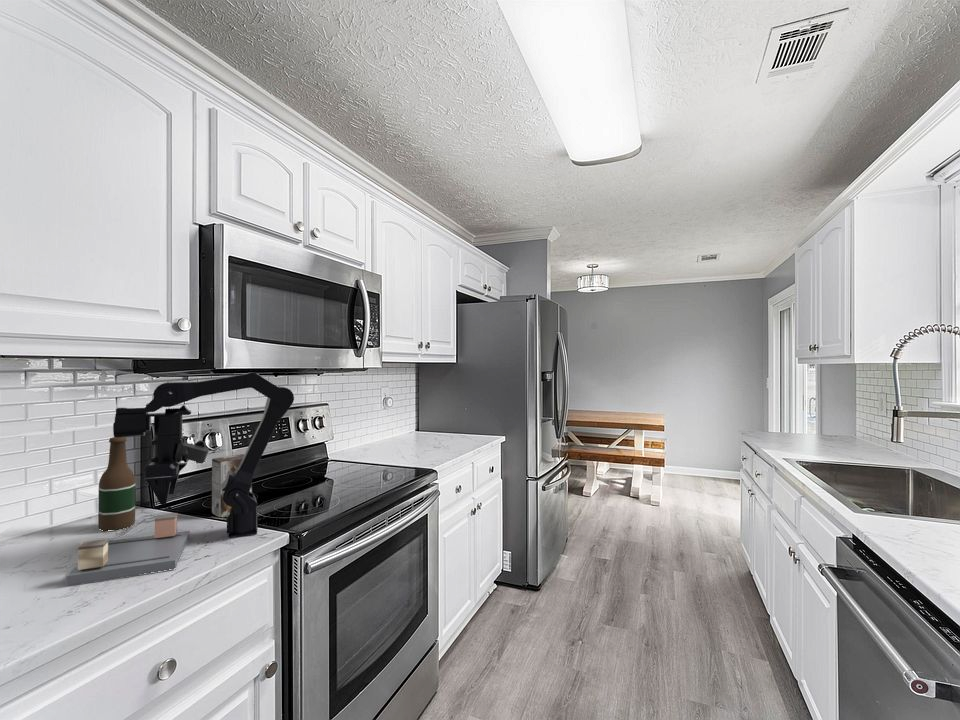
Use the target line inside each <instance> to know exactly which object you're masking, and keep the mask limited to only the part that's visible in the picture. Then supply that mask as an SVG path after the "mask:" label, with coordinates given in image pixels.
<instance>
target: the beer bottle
mask: <svg viewBox="0 0 960 720" xmlns="http://www.w3.org/2000/svg"><path fill="white" fill-rule="evenodd" d="M126 441H128V439H127V437H114V436H112V437H110V438H109V440H108V443H109V453H108V454H109V455H108V463H107V468H106V469H105V471H103V473H102V474H101V477H100V479H99V481H98V497H97V498H98V503H97V505H98V506H97V507H98V511H97V513H98V515H97V516H98V517H97V518H98V519H97V524H98V530H99V529H101V530H103V531H108V530H119V529H122V530H124V529H123V528H126V529H128V528H127V527H129V528H131V527H132V526H134V525H135V522H136V487H137V486H136V484H137V483H136V476H135V474H134V472H133V470H132V469H131V468H130V467H129V466H128V461H127V460H128V459H127V447H126ZM133 524H134V525H133ZM131 525H132V526H131ZM130 526H131V527H130ZM101 530H100V531H101ZM103 531H102V532H103ZM119 531H120V530H119Z"/></svg>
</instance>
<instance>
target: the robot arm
mask: <svg viewBox="0 0 960 720" xmlns="http://www.w3.org/2000/svg"><path fill="white" fill-rule="evenodd" d="M249 388H251V389H253V390H255V391H257V392H258V393H260V395H262V396H265V397H267V398H266V402H265V405H264V410H263V416H262V418H261V420H260V422H259V424H258V426H257V428H256V430H255V432H254V434H253V437H251V440H250V443H249V445H248V447H247V448H246V451H245V453H244V454H245V455H244V457H243V459H242V461H241V463H240V465H239V466H238V468H237V469H236V470H235V471H234V472H231V471H228V473H227V476H226V479H225V481H224V482H223V483H222V484H221V488H222V496H223V501H224V503H225V504H226V505H228V506H230V507H232V508H230V514H228V516H226V533H227V536H228V538H230V539H231V538H235V537H237V538H238V537H244V536H245V537H246V536H252V535H257V534H258V528H259V527H258V504H259V503H258V502H257V501H258V500H257V498H256V495H255V494H254V493H253V492H252V493H251V492H250V488H251V484H252V485H253V478H254V473H255V472H256V469H257V467H258V465H259V463H260V461H261V458H262V456H263V454H264V452H265V450H266V448H267V446H268V444H269V443H270V439H271V437H272V435H273V433H274V432H275V429H276V427H277V426H278V423H279V421H280V420H281V419H282V418H283V417H284V416H285V414H287V412H288V411H289V409H290V408H291V407H292V404H293V403H294V401H295V396H294V393H293V391H292V390H291V389H290V388H288V387H285V386H277V385H276V384H273V383H272V382H270V381H268V380H267V379H265V378H264V377H262V376H261V375H260V374H259V373H258V372H255V371H253V372H252V371H251V372H247V373H244V374H236V375H231V376H226V377H225V376H224V377H220V378H214V379H213V378H212V379H206V380H201V381H167V382H163V383H162V384H159V385H158V386H157V387H155V389H154V390H153V395H152V396H153V398H152V399H151V400H150V402H148V403H146V404H145V407H117V408H116V409H115V416H114V422H113V423H112V425H113V426H112V428H113V429H112V432H113V437H126V438H127V437H128V438H129V437H141V436H143V437H144V436H146V433H147V432H151V429H152V417H153V439H152V440H151V446H153V457H151V459H150V460H151V462H150V463H149V464H148V465H147V466H146V467H144V468H143V470H142V471H143V475H142V476H143V477H142V478H143V479H144V480H145V481H146V482H147V484H148V485H149V487H150V488H151V490H152V492H153V494H154V495H155V498H156V499H157V500H158V503H159V504H160V505H167V504H168V503H167V502H168V499H169V495H174V494H175V491H176V489H177V483H178V480H179V475H180V472H181V471H182V470H183V469H184V468H185V467H186V466H187V465H188V462H189V461H193V462H195V463H196V464H203V463H204V462H205V461H206V458H207V456H208V454H209V451H210V448H209V447H208V446H207V445H206V441H203V440H198V441H196V443H188V442H186V437H184V435H183V416H190V415H191V414H192V411H191V409H190V410H189V408H187V406H186V405H185V404H183V403H185V402H189V401H191V400H194V399H196V398H197V399H198V398H199V397H204V396H209V395H210V396H211V395H216V394H219V393H226V392H233V391H237V390H242V389H249ZM181 404H183V405H182V406H180V407H176V408H175V407H174V406H177V405H181ZM163 407H164V408H165V410H164V412H156V411H158V410H160V409H161V408H163ZM171 407H172V408H171ZM173 407H174V408H173ZM206 446H207V447H206Z"/></svg>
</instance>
